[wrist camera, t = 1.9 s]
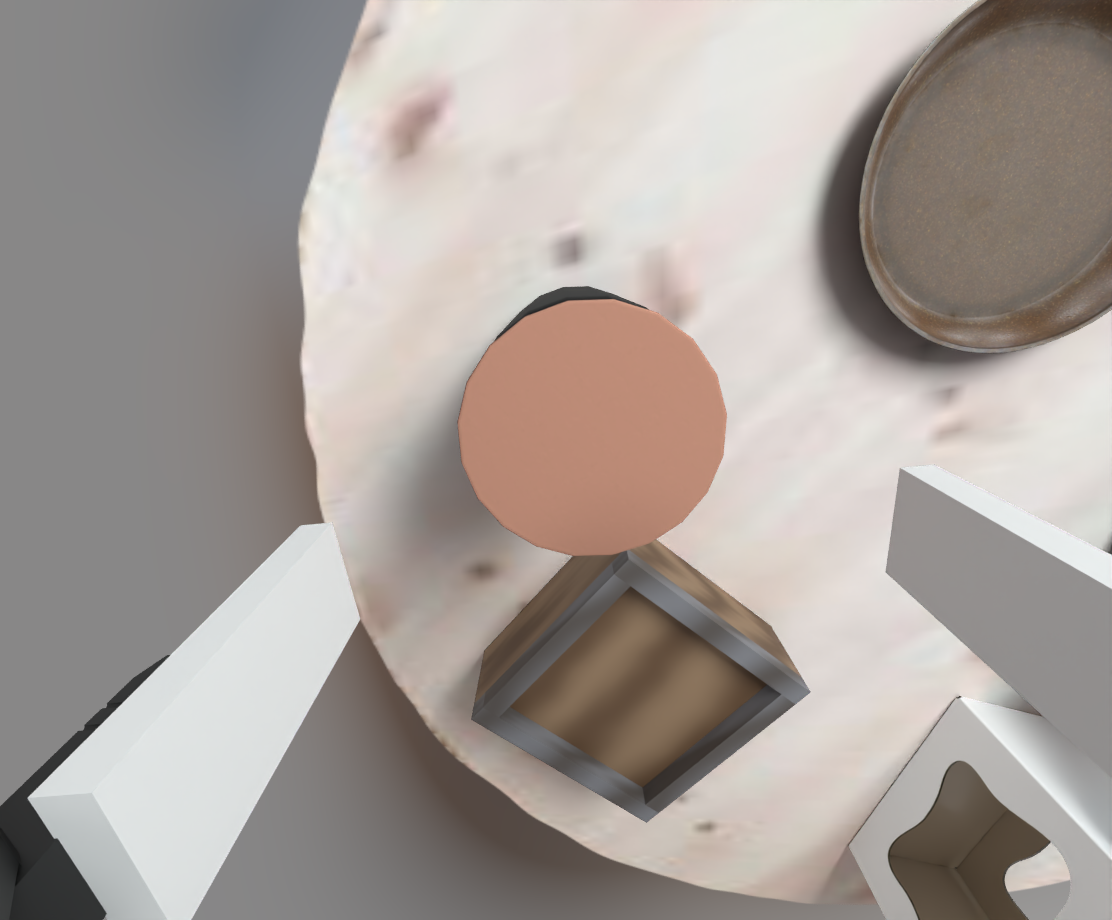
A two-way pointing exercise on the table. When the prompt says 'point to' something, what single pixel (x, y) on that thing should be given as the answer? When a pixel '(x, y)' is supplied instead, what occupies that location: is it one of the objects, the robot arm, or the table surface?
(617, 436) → the coffee jar
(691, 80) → the table surface
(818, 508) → the table surface
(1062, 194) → the plant saucer
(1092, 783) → the gable box
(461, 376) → the table surface
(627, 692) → the square wooden box
